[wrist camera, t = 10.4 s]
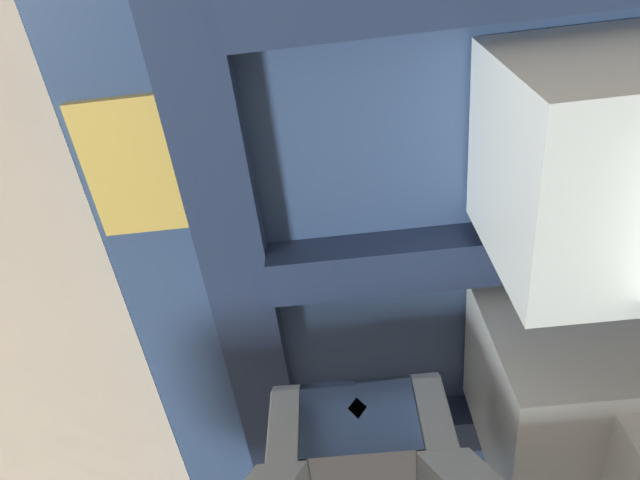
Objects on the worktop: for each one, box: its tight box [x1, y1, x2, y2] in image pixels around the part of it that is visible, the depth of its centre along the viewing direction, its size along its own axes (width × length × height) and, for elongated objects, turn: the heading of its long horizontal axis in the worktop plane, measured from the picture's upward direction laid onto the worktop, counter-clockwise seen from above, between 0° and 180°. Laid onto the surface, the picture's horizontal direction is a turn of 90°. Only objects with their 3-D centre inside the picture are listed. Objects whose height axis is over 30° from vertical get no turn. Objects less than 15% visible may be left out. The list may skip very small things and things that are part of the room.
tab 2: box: [463, 286, 640, 480], centre depth 10 cm, size 4×3×4 cm
